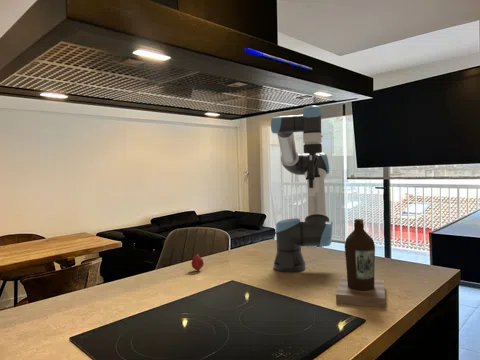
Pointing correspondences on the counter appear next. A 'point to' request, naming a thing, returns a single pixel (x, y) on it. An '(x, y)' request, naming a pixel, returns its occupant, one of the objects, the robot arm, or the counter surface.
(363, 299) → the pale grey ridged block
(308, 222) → the robot arm
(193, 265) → the onion
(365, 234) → the olive oil
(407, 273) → the counter surface
